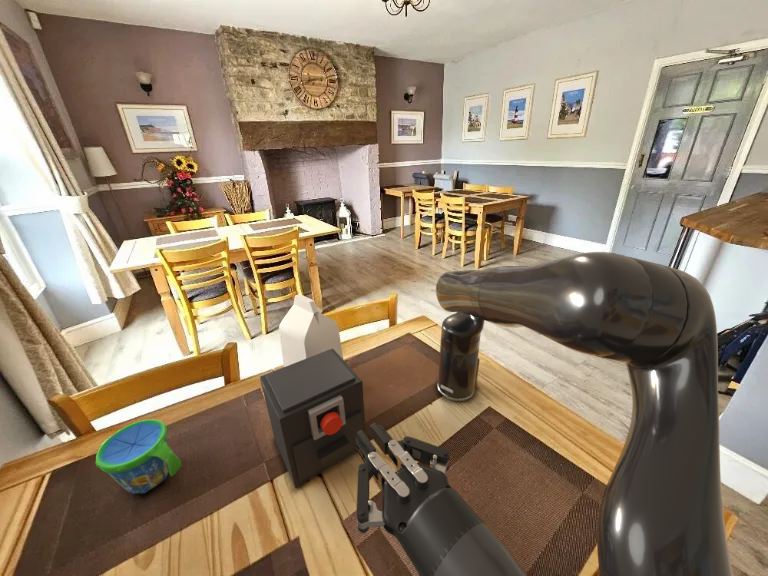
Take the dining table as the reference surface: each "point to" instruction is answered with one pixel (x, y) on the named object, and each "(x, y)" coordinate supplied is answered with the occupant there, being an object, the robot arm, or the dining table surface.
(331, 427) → the power button
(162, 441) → the snack cup
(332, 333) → the milk
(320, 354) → the dark grey button box
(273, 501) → the dining table surface
